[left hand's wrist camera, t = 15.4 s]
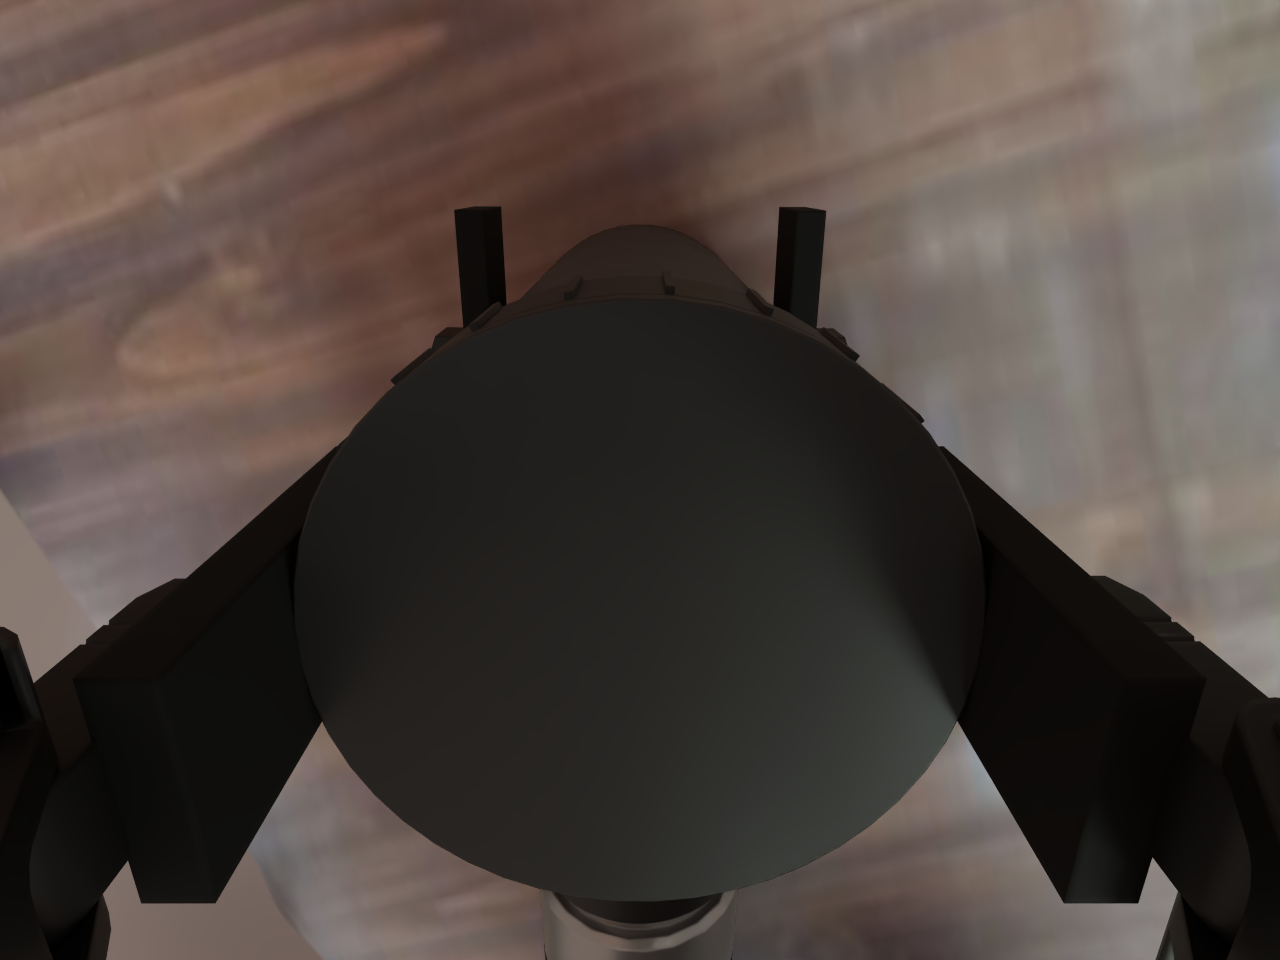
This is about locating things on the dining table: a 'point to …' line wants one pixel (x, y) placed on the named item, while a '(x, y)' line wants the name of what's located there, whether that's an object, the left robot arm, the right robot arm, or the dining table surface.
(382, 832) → the dining table surface
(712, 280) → the jar
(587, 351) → the lid
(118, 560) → the dining table surface
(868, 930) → the dining table surface
